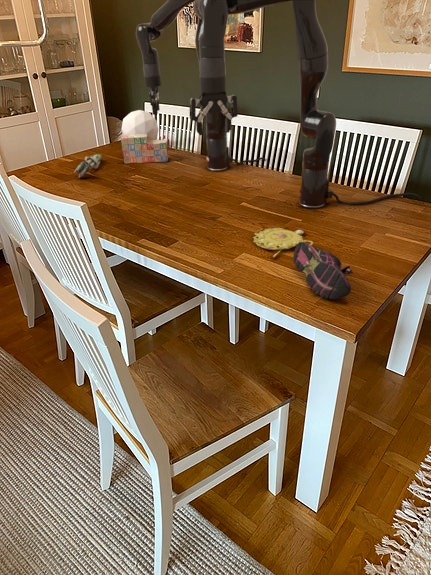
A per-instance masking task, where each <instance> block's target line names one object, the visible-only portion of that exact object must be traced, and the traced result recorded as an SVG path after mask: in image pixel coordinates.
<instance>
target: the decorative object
mask: <svg viewBox="0 0 431 575" xmlns="http://www.w3.org/2000/svg"><path fill="white" fill-rule="evenodd" d="M304 234H305V231H304V230H302V229H297V230H295V231H293V230H289V229H284V228H282V227H273V228H268V229H267V228H264V229H263V230H260V231H259V232H256V233H254V234H253V235H254V236H253V237H252V239H253V241H252V242H253V243H255V245H256V246H258V247H260V248H262V249H265V250H274V251H277V252H276V253H274V254H273V255H272V258H274V259H275V258H276V257H277V256H278V254H279V253H280V252H282V251H283V250H289V249H291V248H296V246H297V244H298V243H299V242H306V243H309V245H310V246H313V245H314V242H313V241H312V240H306V239H304V237H303V235H304Z"/></svg>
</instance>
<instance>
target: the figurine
mask: <svg viewBox="0 0 431 575" xmlns="http://www.w3.org/2000/svg"><path fill="white" fill-rule="evenodd" d="M102 161H103V156H102V154H94V155H91V156H88V155H86V156H84V160H82V161H81V162H80V163H79V164H78V166H76V168H75V170H74V171H73V174H74V175H75V176H76V175H77V174H78V176H77V177H78V179H81V178H82V177H83V176H85V174H87V173H88V172H89V171H90V170H92V169H95V170H97V169H99V166H100V164H101V162H102Z"/></svg>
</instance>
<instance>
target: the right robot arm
mask: <svg viewBox="0 0 431 575" xmlns="http://www.w3.org/2000/svg"><path fill="white" fill-rule="evenodd" d="M290 1H291V5H292V6H291V7H292V11H293V17H294V26H295V27H294V28H295V38H296V39H295V40H296V49H297V50H296V52H297V67H298V75H299V76H298V77H299V91H300V92H299V93H300V111H299V112H300V118H299V119H300V120H299V122H300V129H301V133H302V135H303V136H304V137H306V138H310V139H313V140H315V143H314V145H313V146H311V147H307V148H305V149H304V150H303V153H302V154H303V155H302V168H301V179H300V189H299V202H298V203H299V205H300V206H301V207H304V208H306V209H320V208H323V207H324V206H327V204H328V200H329V199H333V197H334V198H335V200H336V202H337V203H339V204H343V205H349V206H357V205H359V206H360V205H367V204H372V203H375V202H378V201H382V200H386V199H389V198H394V197H395V198H396V197H406V196H408V197H409V196H412V197H415V198H417V199H418V200H422V197H421V196H420V195H418V194H417V193H413V192H404V193H402V192H401V193H392V194H388V195H385V196H381V197H376V198H374V199H371V200H365V201H364V200H363V201H353V202H348V201H343V200H341V199H340V197H339V196H338V194H336V193H335V192H334V191H333V190H332V189H330V188H329V187H330V179H328V174H329V166H330V158H331V157H330V156H331V153H332V151H333V147H334V143H335V142H334V140H335V135H336V129H337V118H336V115H335V113H333V112H330V111H326V110H319V108H318V94H319V90H320V88H321V86H322V84H323V82H324V81H325V79H326V76H327V74H328V70H329V50H328V43H327V39H326V36H325V34H324V31H323V29H322V26H321V24H320V21H319V19H318V14H317V6H316V0H195V1H194V2H193V11H194V14H195V15H196V17H197V19H198V18H200V19H201V20H203V21H204V28H203V33H202V34H201V35H200V37H199V55H200V61H199V62H198V76H199V92H200V93H199V98H198V97H197V98H194V97H190V98H189V119H190V120H191V121H193V122H195V126H196V129H195V131H196V132H197V134H198V135H199V136H203V122H202V121H203V119H204V118H205V117H206V114H207V112H208V113H213V112H220V111H222V113H223V114H224V115H225V116H226V119H225V131H226V132H227V134H228V133H230V132H231V131H232V121H233V120H232V119H233V118H237V117H238V115H239V112H238V111H239V110H238V97H237V95H235V94H230V95H227V65H226V57H225V56H226V55H225V54H226V53H225V51H226V48H225V45H226V44H225V37H226V32H227V25H228V19H229V15H240V14H241V15H242V14H245V13H249V12H253V11H257V10H260V9H263V8H266V7H271V6H273V5H277V4H281V3H286V2H290ZM226 102H227V103H229V104H230V112H229V110H227V109H226V107H225V104H226ZM198 104H200V105H201V107H200V109H199V111H198V113H197V111H196V109H197V108H196V107H198ZM196 113H197V114H196Z"/></svg>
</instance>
